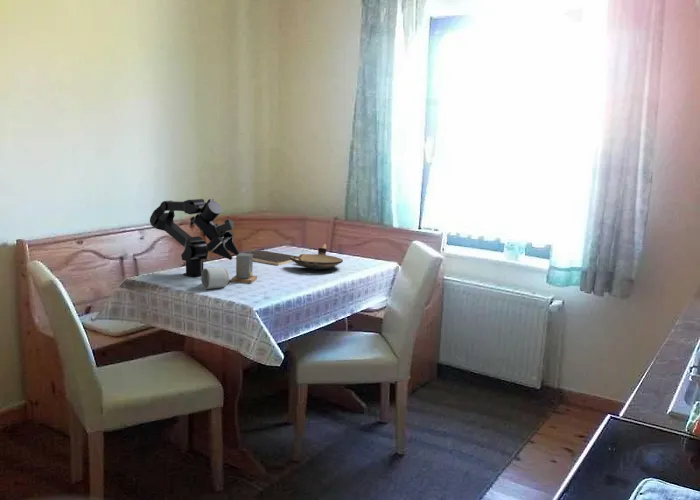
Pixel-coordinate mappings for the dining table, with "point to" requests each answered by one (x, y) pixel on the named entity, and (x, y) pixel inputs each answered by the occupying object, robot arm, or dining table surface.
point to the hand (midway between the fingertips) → (235, 256)
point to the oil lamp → (317, 260)
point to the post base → (244, 279)
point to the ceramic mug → (214, 278)
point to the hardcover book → (271, 257)
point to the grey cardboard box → (244, 265)
